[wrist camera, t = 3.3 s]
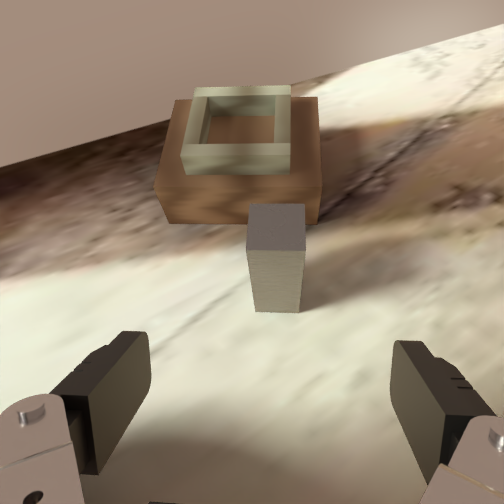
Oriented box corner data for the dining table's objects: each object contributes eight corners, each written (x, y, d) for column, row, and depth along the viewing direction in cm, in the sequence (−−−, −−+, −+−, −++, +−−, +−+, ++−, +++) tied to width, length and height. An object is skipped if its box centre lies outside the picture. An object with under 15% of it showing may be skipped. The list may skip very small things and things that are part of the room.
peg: (255, 311, 34) (245, 250, 25) (257, 273, 36) (249, 203, 27) (298, 313, 34) (305, 250, 24) (298, 274, 36) (304, 203, 26)
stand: (169, 223, 40) (144, 168, 33) (187, 140, 47) (169, 79, 39) (316, 224, 39) (325, 167, 31) (313, 139, 45) (319, 75, 38)
